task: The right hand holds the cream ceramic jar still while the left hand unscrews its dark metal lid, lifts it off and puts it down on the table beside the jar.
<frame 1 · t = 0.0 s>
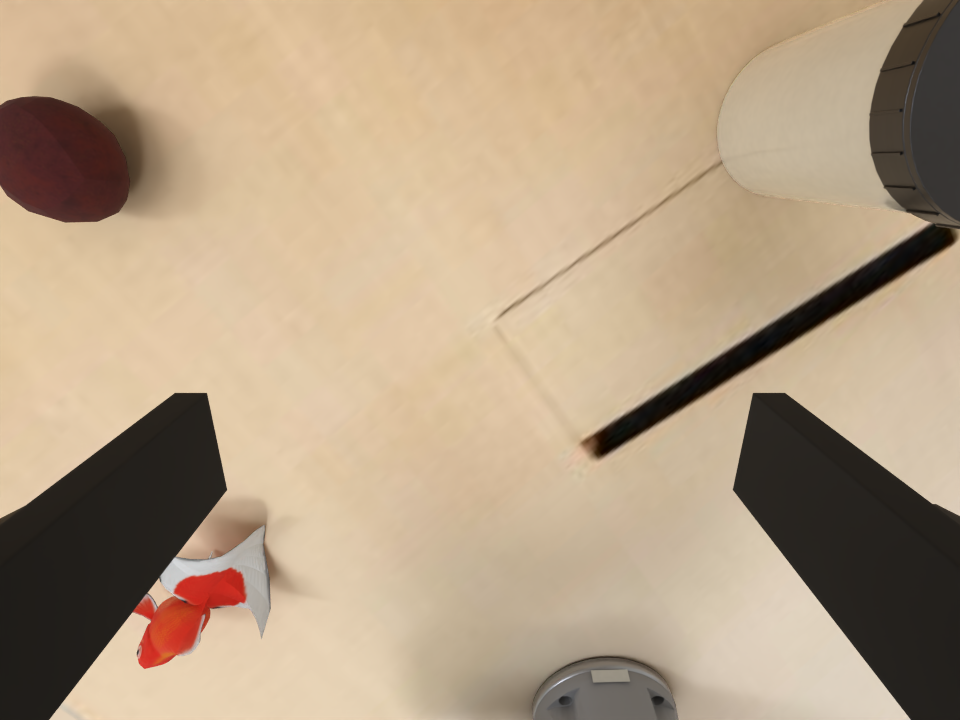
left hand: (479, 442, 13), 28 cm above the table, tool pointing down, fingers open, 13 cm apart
jar: (790, 121, 36), on the table
fish: (222, 561, 49), on the table
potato: (101, 164, 37), on the table
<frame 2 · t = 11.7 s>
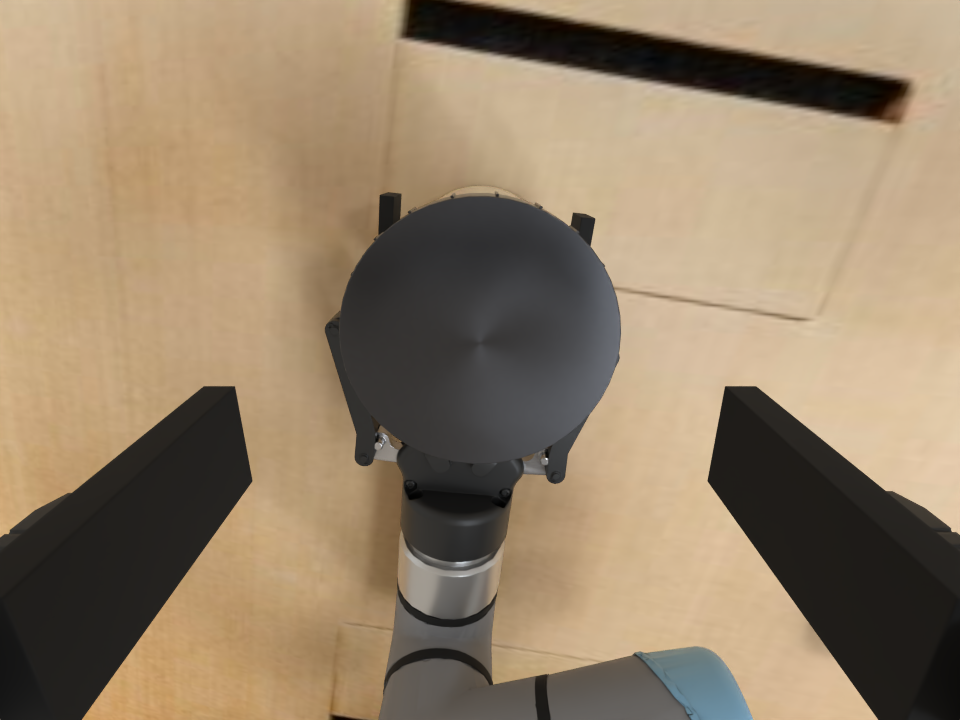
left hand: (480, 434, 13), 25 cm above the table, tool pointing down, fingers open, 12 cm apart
right hand: (488, 204, 29), fingers closed on jar, 10 cm apart
lid: (479, 340, 20), point 17 cm above the table, screwed on, not yet turned
jar: (480, 260, 36), on the table, touching right hand
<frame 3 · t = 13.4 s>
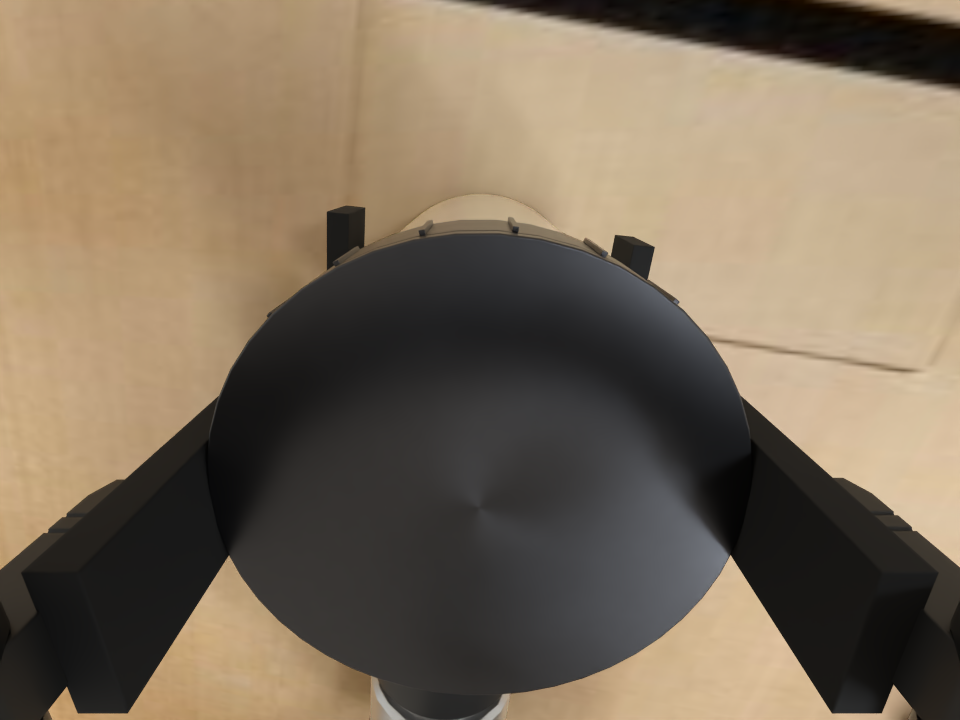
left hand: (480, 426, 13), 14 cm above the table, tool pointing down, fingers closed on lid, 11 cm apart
lid: (479, 497, 11), point 17 cm above the table, screwed on, not yet turned, touching left hand
jar: (480, 294, 27), on the table, touching right hand
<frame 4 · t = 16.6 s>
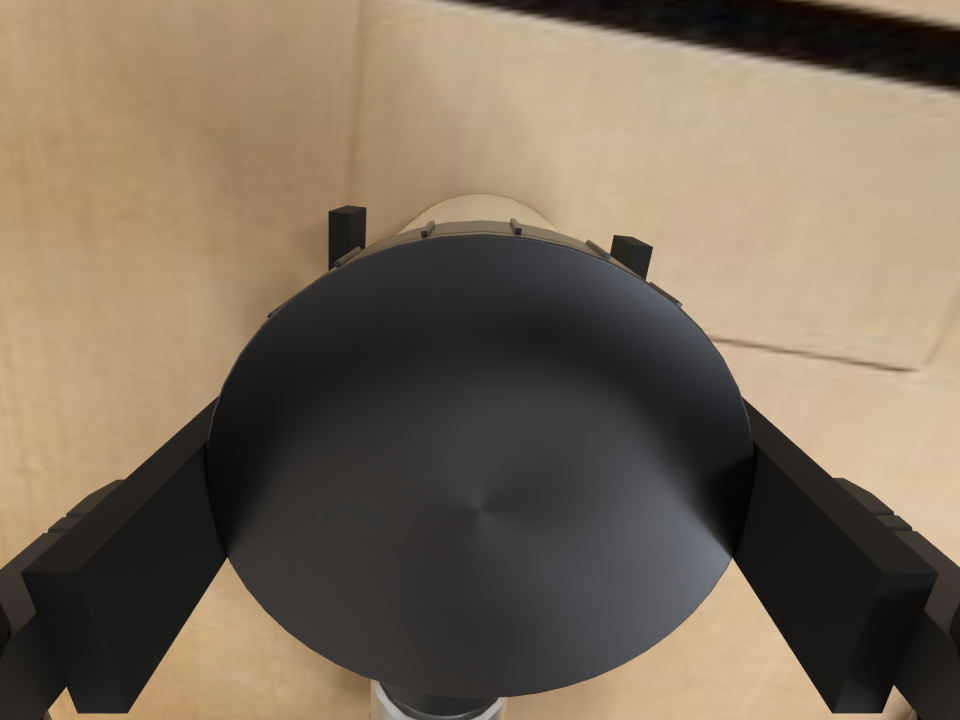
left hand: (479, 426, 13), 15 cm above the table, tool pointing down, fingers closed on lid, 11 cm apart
lid: (480, 499, 11), point 18 cm above the table, turned 85° so far, risen 0.3 cm, still on its thread, touching left hand
jar: (479, 294, 27), on the table, touching right hand
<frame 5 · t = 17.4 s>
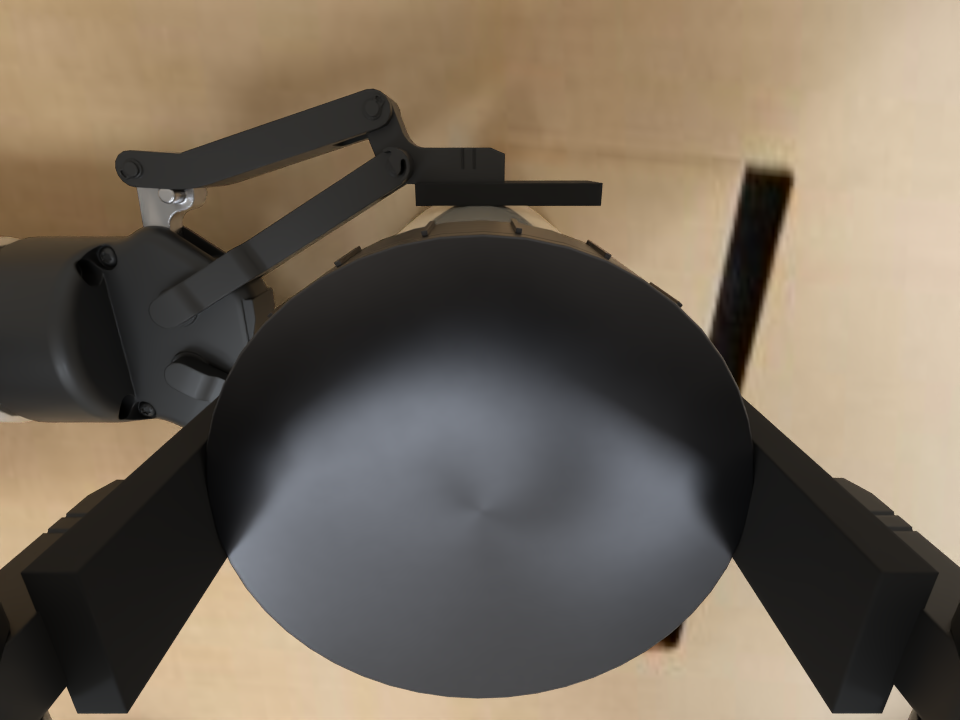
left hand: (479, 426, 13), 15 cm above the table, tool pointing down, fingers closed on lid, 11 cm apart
right hand: (583, 329, 21), fingers closed on jar, 10 cm apart
lid: (480, 499, 11), point 18 cm above the table, off its thread, touching left hand
jar: (479, 292, 27), on the table, touching right hand
when the left hand's fingers open (1 cm above the table, at t = 22.5 s): lid drops 2 cm, point 2 cm above the table.
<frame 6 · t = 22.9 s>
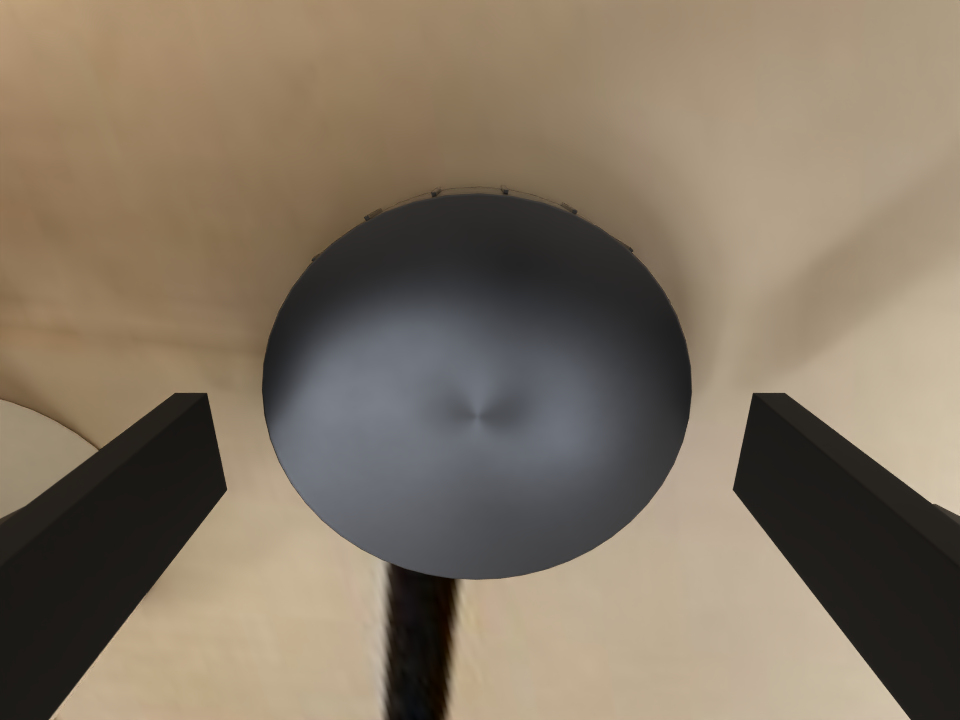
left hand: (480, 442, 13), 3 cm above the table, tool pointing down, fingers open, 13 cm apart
lid: (477, 410, 13), point 2 cm above the table, off its thread
jar: (1, 527, 17), on the table, touching right hand
when the right hand's fingers open (7 cm above the table, at t = 23.5 s): jar stays where it is, on the table.
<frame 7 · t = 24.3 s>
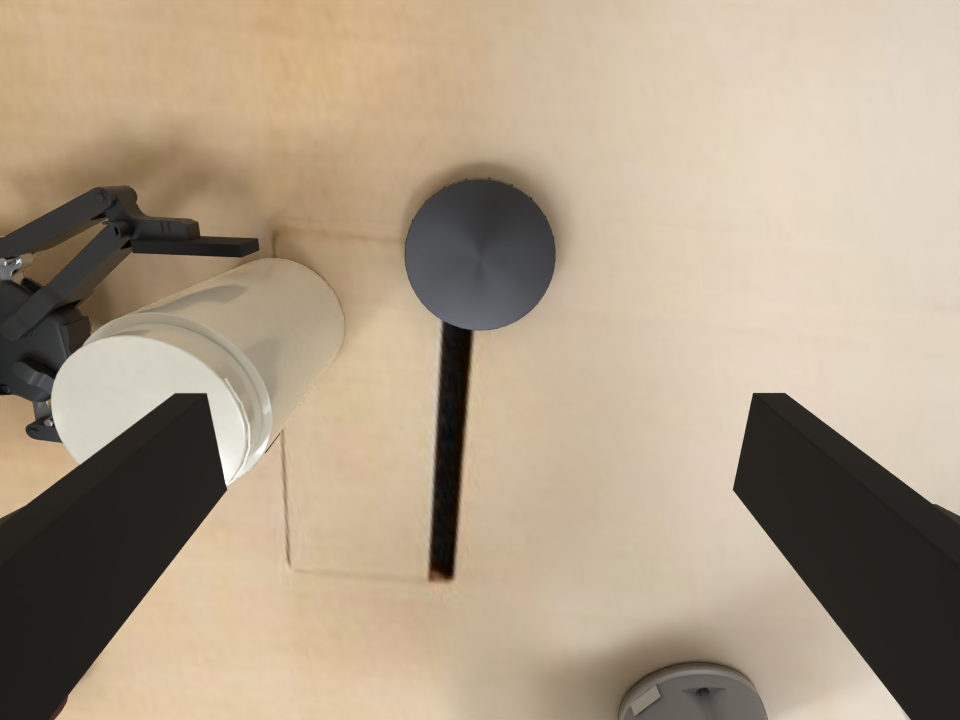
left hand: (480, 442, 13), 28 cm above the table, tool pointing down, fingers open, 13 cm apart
right hand: (262, 349, 35), fingers open, 13 cm apart
lid: (480, 257, 37), point 2 cm above the table, off its thread
jar: (281, 321, 41), on the table
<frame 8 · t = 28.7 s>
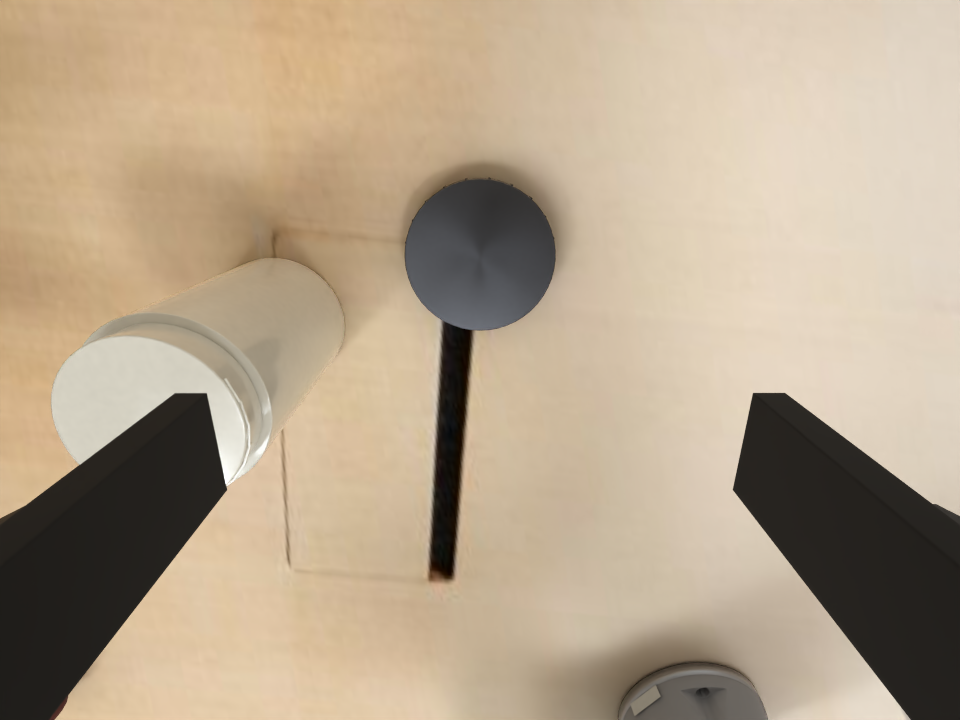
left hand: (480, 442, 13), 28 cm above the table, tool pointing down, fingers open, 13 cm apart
lid: (480, 257, 37), point 2 cm above the table, off its thread
jar: (281, 321, 41), on the table
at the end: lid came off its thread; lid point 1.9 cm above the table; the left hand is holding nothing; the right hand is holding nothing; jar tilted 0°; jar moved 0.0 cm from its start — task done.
